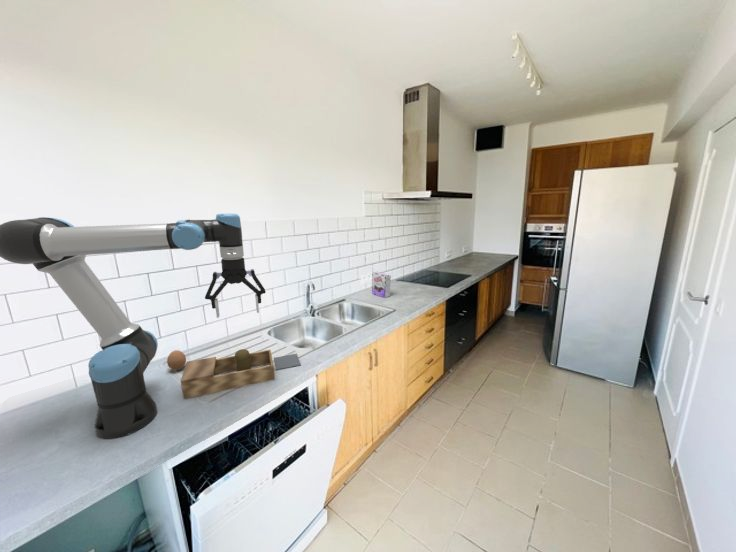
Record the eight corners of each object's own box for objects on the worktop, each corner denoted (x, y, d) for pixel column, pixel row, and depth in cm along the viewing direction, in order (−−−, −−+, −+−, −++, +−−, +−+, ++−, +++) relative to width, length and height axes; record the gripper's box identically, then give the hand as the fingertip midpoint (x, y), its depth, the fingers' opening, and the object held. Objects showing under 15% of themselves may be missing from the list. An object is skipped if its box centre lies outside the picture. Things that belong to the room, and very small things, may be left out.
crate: (183, 398, 104) (180, 380, 102) (189, 377, 116) (186, 361, 114) (274, 379, 115) (273, 363, 114) (271, 362, 127) (270, 347, 126)
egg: (189, 363, 126) (186, 346, 124) (185, 372, 120) (182, 353, 118) (171, 366, 124) (168, 348, 122) (166, 374, 118) (163, 355, 116)
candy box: (371, 293, 222) (371, 272, 218) (377, 292, 226) (377, 271, 222) (384, 298, 212) (385, 275, 208) (390, 296, 216) (391, 274, 212)
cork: (246, 381, 114) (244, 355, 111) (232, 379, 115) (229, 353, 112) (255, 372, 120) (253, 348, 117) (242, 371, 121) (239, 346, 118)
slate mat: (276, 370, 121) (276, 369, 121) (273, 358, 130) (273, 357, 130) (300, 365, 125) (300, 364, 125) (296, 354, 134) (296, 353, 134)
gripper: (190, 262, 98) (199, 322, 103) (270, 257, 107) (274, 312, 112) (194, 258, 104) (201, 314, 110) (268, 254, 114) (272, 306, 119)
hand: (238, 313), depth 111 cm, fingers open, 13 cm apart
